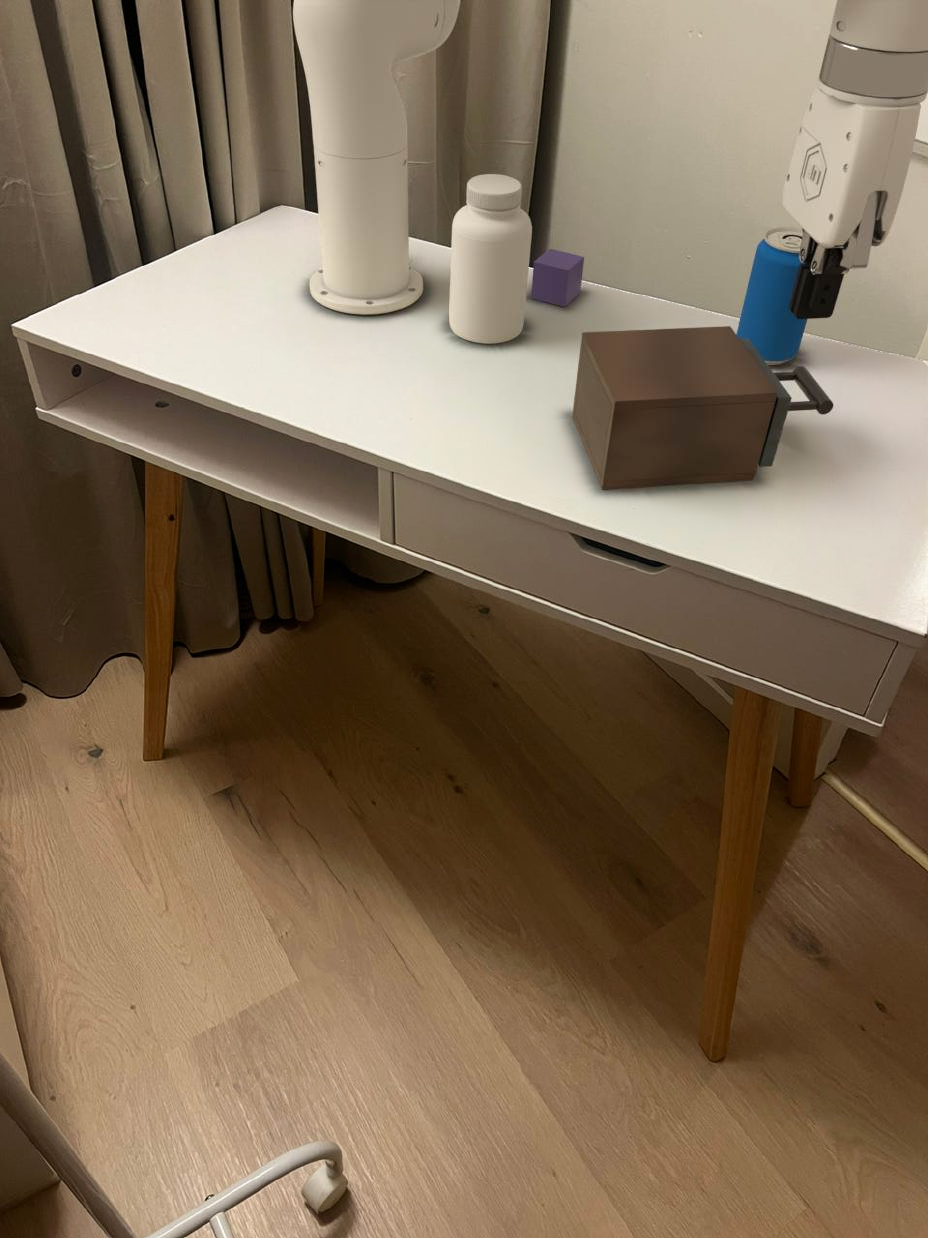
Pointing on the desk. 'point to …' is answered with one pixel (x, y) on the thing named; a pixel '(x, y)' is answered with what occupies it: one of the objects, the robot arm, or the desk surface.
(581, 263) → the block
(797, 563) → the desk surface
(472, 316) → the pill bottle
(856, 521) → the desk surface
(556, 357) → the desk surface
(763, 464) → the drawer
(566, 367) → the desk surface
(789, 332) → the beverage can
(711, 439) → the wooden drawer cabinet
